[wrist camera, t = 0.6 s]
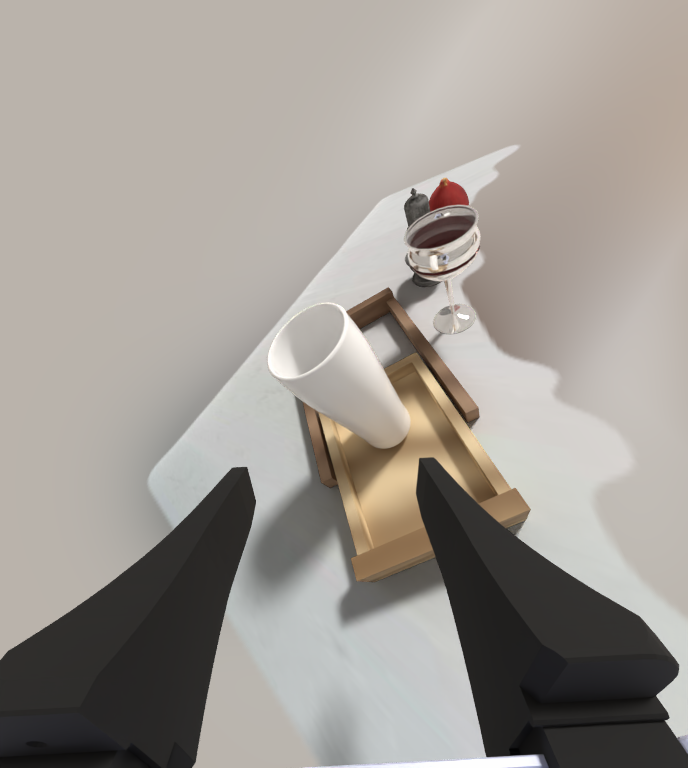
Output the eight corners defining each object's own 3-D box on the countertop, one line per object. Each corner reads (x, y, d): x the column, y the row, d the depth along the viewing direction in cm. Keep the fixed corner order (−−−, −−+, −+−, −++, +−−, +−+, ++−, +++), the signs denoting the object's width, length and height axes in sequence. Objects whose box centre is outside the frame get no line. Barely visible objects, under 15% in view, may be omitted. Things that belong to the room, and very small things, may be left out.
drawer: (526, 520, 21) (530, 509, 19) (374, 582, 23) (356, 581, 20) (420, 364, 33) (413, 342, 30) (325, 413, 35) (309, 397, 32)
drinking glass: (359, 462, 29) (257, 393, 18) (358, 405, 33) (273, 321, 22) (424, 452, 26) (348, 363, 16) (415, 391, 30) (349, 286, 19)
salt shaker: (450, 284, 38) (437, 193, 30) (408, 291, 41) (383, 210, 32) (453, 257, 41) (441, 166, 32) (413, 265, 44) (392, 184, 35)
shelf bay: (479, 417, 27) (477, 402, 25) (330, 488, 29) (316, 480, 27) (394, 303, 41) (388, 287, 39) (297, 357, 43) (286, 345, 41)
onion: (428, 230, 48) (419, 179, 42) (465, 215, 46) (460, 159, 40) (435, 248, 44) (425, 195, 38) (474, 233, 42) (471, 175, 36)
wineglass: (489, 298, 34) (487, 197, 26) (477, 341, 32) (469, 246, 23) (434, 299, 38) (415, 212, 29) (419, 338, 36) (393, 254, 27)
